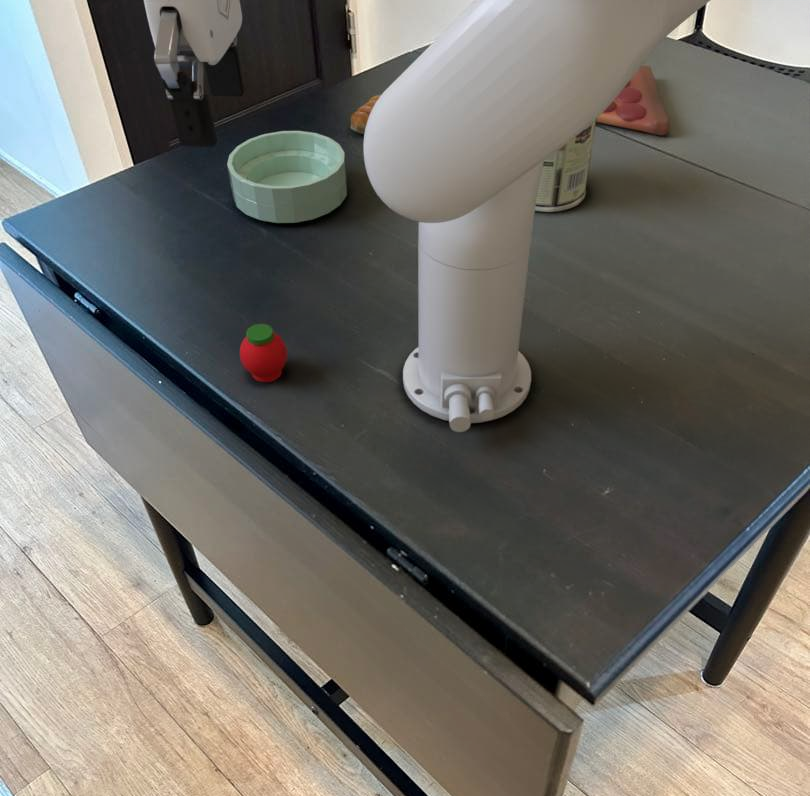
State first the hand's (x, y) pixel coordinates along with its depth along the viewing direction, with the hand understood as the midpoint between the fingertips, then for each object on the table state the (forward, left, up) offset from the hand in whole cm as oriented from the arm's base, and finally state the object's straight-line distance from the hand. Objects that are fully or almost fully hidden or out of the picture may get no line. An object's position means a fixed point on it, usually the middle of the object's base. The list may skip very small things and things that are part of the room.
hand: (214, 118), depth 74 cm
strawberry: (-10, -3, -21) cm, 23 cm away
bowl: (+24, -3, -21) cm, 32 cm away
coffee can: (+24, -35, -21) cm, 47 cm away
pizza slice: (+47, -44, -21) cm, 67 cm away
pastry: (+43, -15, -21) cm, 50 cm away
